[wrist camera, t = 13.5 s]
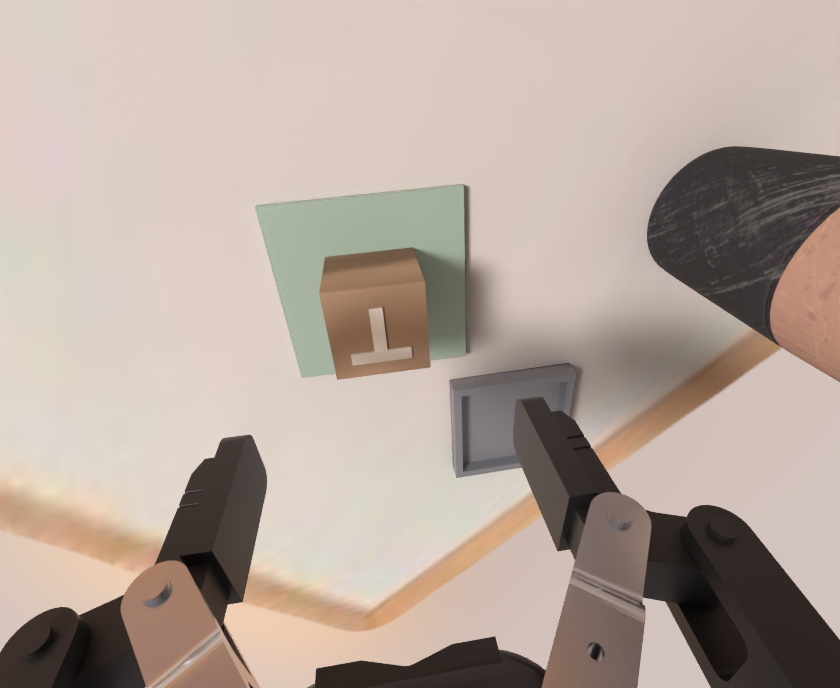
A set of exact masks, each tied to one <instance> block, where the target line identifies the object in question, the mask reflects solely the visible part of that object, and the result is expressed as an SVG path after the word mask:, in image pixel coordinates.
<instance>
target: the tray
mask: <svg viewBox="0 0 840 688" xmlns="http://www.w3.org/2000/svg"><path fill="white" fill-rule="evenodd" d="M575 380H576V372H575V371H574V370H573V369H572V367H571V366H570V365H569V363H567V364H560V365H553V366H546V367H538V368H531V369H524V370H517V371H510V372H503V373H496V374H489V375H482V376H474V377H467V378H460V379H453V380H450V399H451V424H452V450H453V467H454V470H455V474H456V478H459V477H465V476H471V475H477V474H484V473H490V472H496V471H502V470H509V469H515V468H521V467H522V466H521V464H520V461H519V459H518V457H517V454H516V451H515V448H514V443H513V427H514V415H515V404H516V400H517V399H522V398H530V397H537V396H542V397H543V398H544V400H545V401H546V403H547V405H548V406H549V408H550V410H551V412H553V411H560V410H561V411H563V412H564V413H565V414H566V415H568V416H569V417H570V411H571V405H572V399H573V393H574V387H575Z"/></svg>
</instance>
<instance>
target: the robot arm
mask: <svg viewBox="0 0 840 688" xmlns="http://www.w3.org/2000/svg"><path fill="white" fill-rule="evenodd" d="M513 443H514V448H515V451H516V454H517V457H518V459H519V461H520V464H521V466H522V468H523V471H524V473H525V476H526V478H527V480H528V483H529V485H530V487H531V490H532V492H533V494H534V497H535V499H536V501H537V504H538V506H539V509H540V511H541V513H542V516H543V518H544V520H545V522H546V525H547V527H548V529H549V532H550V534H551V536H552V539H553V541H554V544H555V546H556V549H557V551H562V550H568V549H570V550H571V552H572V554H573V556H574V559H575V563H574V567H573V571H572V575H571V579H570V582H569V586H568V590H567V594H566V598H565V601H564V605H563V608H562V612H561V616H560V620H559V623H558V627H557V631H556V635H555V639H554V642H553V646H552V650H551V653H550V658H549V661H548V665H547V669H546V670H544V669H543V668H542V667H540V666H539V665H538V664H536V663H534V662H533V661H531V660H529V659H527V658H525V657H523V656H521V655H518V654H515V653H512V652H509V651H504V650H498V646H497V642H496V638H495V637H490V638H484V639H479V640H473V641H468V642H462V643H456V644H452V645H450V646H448V647H446V648H444V649H442V650H440V651H438V652H436V653H434V654H432V655H431V656H429V657H427V658H425V659H423V660H421V661H419V662H417V663H415V664H413V665H411V666H398V665H391V664H390V665H389V664H383V663H375V662H368V661H356V662H351V663H345V664H340V665H334V666H328V667H323V668H318V669H316V680H315V684H313V685H311V686H310V687H308V688H637V685H638V676H639V667H640V658H641V650H642V642H643V633H644V624H645V606H644V605H643V604H642V599H643V597H644V598H649V599H655V600H661V601H666V603H667V605H668V607H669V609H670V611H671V613H672V615H673V617H674V618H675V620H676V622H677V624H678V626H679V628H680V630H681V632H682V634H683V635H684V637H685V639H686V641H687V643H688V645H689V647H690V649H691V651H692V653H693V654H694V656H695V658H696V660H697V662H698V664H699V666H700V668H701V670H702V671H703V673H704V675H705V677H706V679H707V681H708V683H709V685H710V687H711V688H840V640H839V639H838V637H837V636H836V635H835V633H834V632H833V631H832V630H831V628H829V626H828V625H827V623H826V622H825V621H824V620H823V618H822V617H821V616H820V615H819V614H818V612H817V611H816V610H815V608H814V607H813V606H812V605H811V603H810V602H809V601H808V600H807V598H806V597H805V596H804V595H803V593H802V592H801V591H800V590H799V588H798V587H797V586H796V585H795V583H794V582H793V581H792V580H791V578H790V577H789V576H788V575H787V573H786V572H785V571H784V569H783V568H782V567H781V566H780V564H779V563H778V562H777V561H776V560H775V558H774V557H773V556H772V554H771V553H770V552H769V551H768V549H767V548H766V547H765V546H764V544H763V543H762V542H761V541H760V539H759V538H758V537H757V536H756V534H755V533H754V532H753V531H752V530H751V528H750V527H749V526H748V525H747V524H746V523H745V522H744V521H743V520H742V519H741V518H739V517H738V516H736V515H735V514H733V513H731V512H730V511H727V510H725V509H722V508H720V507H716V506H710V505H701V506H697V507H695V508H693V509H692V510H691V511H690V512H689V514H688V516H687V517H683V516H676V515H668V514H662V513H655V512H650V511H648V510H645V509H644V508H643V507H642V506H641V505H640V504H639V503H638V502H636V501H635V500H634V499H632V498H630V497H628V496H626V495H623V494H621V492H620V491H619V490H618V488H617V487H616V485H615V483H614V482H613V481H612V479H611V477H610V476H609V474H608V472H607V471H606V469H605V468H604V466H603V465H602V463H601V461H600V460H599V458H598V457H597V455H596V453H595V452H594V450H593V449H591V446H590V444H589V442H588V441H587V439H586V438H585V437H584V434H583V433H582V431H581V430H580V428H579V427H578V425H577V423H576V422H575V421H574V420H573V419H572V418H570V417H569V416H568V415H566V414H565V413H564V412H563V411H561V410H560V411H553V412H551V410H550V408H549V406H548V405H547V403H546V401H545V400H544V398H543V397H542V396H537V397H530V398H522V399H517V400H516V404H515V415H514V427H513ZM266 488H267V475H266V470H265V467H264V464H263V462H262V459H261V457H260V454H259V452H258V449H257V447H256V444H255V442H254V439H253V437H252V436H251V435H244V436H236V437H229V438H223V439H222V440H221V442H220V444H219V447H218V450H217V452H216V455H215V458H209V459H204V461H203V462H202V463H201V464H200V465H199V466H198V468H197V469H196V470H195V471H194V472H193V473H192V475H191V477H190V480H189V482H188V484H187V487H186V489H185V494H183V497H182V499H181V502H180V504H179V506H180V507H179V508H178V509H177V512H176V514H175V517H174V519H173V521H172V524H171V526H170V529H169V531H168V534H167V536H166V539H165V541H164V544H163V546H162V549H161V551H160V554H159V556H158V558H157V561H156V563H155V565H154V566H152V567H150V568H148V569H147V570H145V571H144V572H143V573H141V574H140V575H139V576H138V577H137V578H136V579H135V580H134V581H133V582H132V583H131V585H130V586H129V587H128V589H127V591H126V592H125V594H124V595H122V596H121V597H119V598H117V599H114V600H112V601H110V602H108V603H105V604H103V605H101V606H99V607H97V608H94V609H92V610H90V611H88V612H86V613H83V614H81V615H78V614H77V613H76V612H75V611H73V610H72V609H70V608H67V607H59V608H54V609H50V610H48V611H45V612H43V613H41V614H39V615H37V616H36V617H34V618H33V619H31V620H30V621H28V622H27V623H26V624H24V625H23V626H22V627H21V628H20V629H19V630H18V631H17V632H16V633H15V634H14V635H13V636H12V637H11V638H10V639H9V641H8V642H7V643H6V644H5V646H4V648H3V649H2V651H1V652H0V688H145V687H146V688H260V687H259V685H258V683H257V681H256V680H255V678H254V676H253V674H252V672H251V670H250V669H249V667H248V665H247V663H246V661H245V659H244V658H243V656H242V654H241V652H240V650H239V648H238V646H237V645H236V643H235V641H234V639H233V637H232V635H231V634H230V632H229V630H228V628H227V626H226V624H225V623H224V617H225V613H226V609H227V605H228V604H233V603H239V602H243V598H244V593H245V588H246V584H247V579H248V574H249V569H250V565H251V560H252V555H253V551H254V546H255V541H256V536H257V532H258V527H259V522H260V517H261V513H262V508H263V503H264V498H265V494H266Z"/></svg>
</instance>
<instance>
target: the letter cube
mask: <svg viewBox="0 0 840 688" xmlns="http://www.w3.org/2000/svg"><path fill="white" fill-rule="evenodd" d="M319 296H320V301H321V306H322V310H323V315H324V320H325V324H326V329H327V334H328V339H329V343H330V348H331V353H332V357H333V362H334V367H335V371H336V376H337V380H339V379H346V378H354V377H361V376H369V375H376V374H384V373H391V372H399V371H406V370H414V369H421V368H428V367H430V352H429V336H428V320H427V304H426V288H425V280H424V277H423V275H422V272H421V269H420V267H419V264H418V261H417V259H416V256H415V253H414V251H413V248H412V247H411V248H402V249H392V250H383V251H374V252H365V253H356V254H347V255H338V256H329V257H325V259H324V266H323V272H322V278H321V284H320V291H319Z"/></svg>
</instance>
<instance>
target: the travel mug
mask: <svg viewBox="0 0 840 688" xmlns="http://www.w3.org/2000/svg"><path fill="white" fill-rule="evenodd" d="M647 242H648V247H649V250H650V253H651V255H652V257H653V259H654V260H655V262H656V263H657V264H658V265H659V266H660V267H661V268H663V269H664V270H665V271H666V272H668V273H669V274H671V275H672V276H674V277H675V278H676V279H678V280H679V281H681V282H682V283H684V284H685V285H687V286H689V287H690V288H692V289H693V290H695V291H696V292H698V293H699V294H701V295H702V296H704V297H705V298H707V299H708V300H710V301H711V302H713V303H715V304H716V305H718V306H719V307H721V308H722V309H724V310H725V311H727V312H728V313H730V314H731V315H733V316H734V317H736V318H737V319H739V320H741V321H742V322H744V323H745V324H747V325H748V326H750V327H751V328H753V329H754V330H756V331H757V332H759V333H760V334H762V335H763V336H765V337H767V338H768V339H770V340H771V341H773V342H774V343H776V344H777V345H779V346H781V347H783V348H784V349H785V350H787V351H789V352H790V353H792V354H793V355H795V356H797V357H799V358H800V359H802V360H804V361H805V362H807V363H809V364H810V365H812V366H814V367H815V368H817V369H819V370H820V371H822V372H824V373H825V374H827V375H829V376H830V377H832V378H834V379H835V380H837V381H839V382H840V157H839V156H830V155H820V154H811V153H802V152H793V151H783V150H774V149H764V148H753V147H736V146H733V147H724V148H720V149H716V150H713V151H710V152H708V153H705V154H703V155H702V156H700V157H698V158H696V159H695V160H693V161H692V162H690V163H689V164H687V165H686V166H685V167H684V168H682V169H681V170H680V171H679V172H678V173H677V174H676V175H675V176H674V177H673V178H672V179H671V180H670V182H669V183H668V184H667V185H666V187H665V188H664V189H663V191H662V192H661V194H660V196H659V197H658V199H657V201H656V203H655V205H654V207H653V210H652V213H651V216H650V219H649V223H648V230H647Z"/></svg>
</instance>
